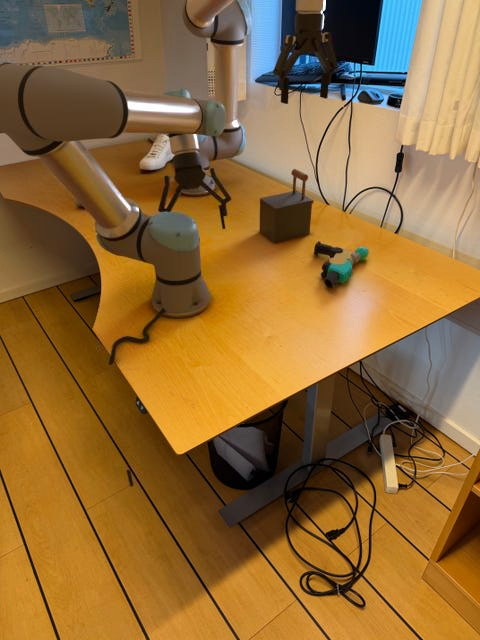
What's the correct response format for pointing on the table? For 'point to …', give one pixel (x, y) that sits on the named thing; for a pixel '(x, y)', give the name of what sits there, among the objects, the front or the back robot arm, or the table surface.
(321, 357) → the table surface
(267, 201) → the lid
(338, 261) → the toy gun
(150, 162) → the sneaker
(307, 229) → the chest
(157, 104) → the front robot arm
